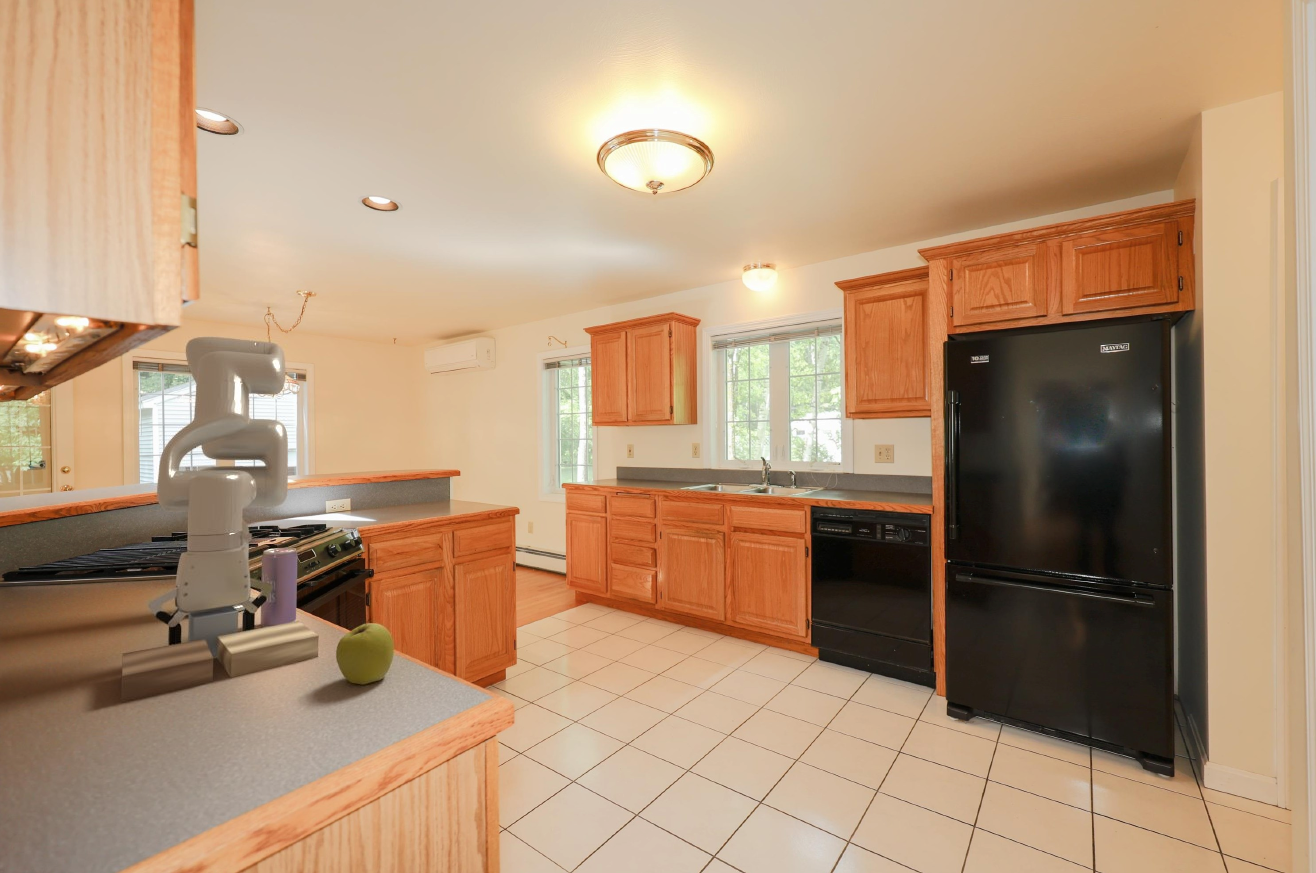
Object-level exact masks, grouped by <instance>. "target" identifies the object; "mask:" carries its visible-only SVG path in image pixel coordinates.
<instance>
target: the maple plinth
mask: <svg viewBox="0 0 1316 873" xmlns="http://www.w3.org/2000/svg"><path fill="white" fill-rule="evenodd" d="M319 638H320V637H319V635H318V634H317V633H315V632H314V631H313V630H311V629H310V628H309V627H308V626H306V625H304V624H303V623H302V622H301V621H299V620H297V621H296V620H295V621H294V622H291V623H286V624H280V625H275V626H270V627H259V628H254V629H253V630H249V631H243V632H242V631H240V632H238V633H233V634H227V635H222V636H217V656H216V658H217V660H218V661H219V662H220V664H221V665H222V667H223V668H224V670H225V671H226V673H227V674H228V675H229V677H230V678H234V677H239V676H243V675H248V674H252V673H255V672H260V671H263V670H268V669H269V670H270V669H272V668H276V667H282V666H286V665H289V664H294V663H299V662H303V661H307V660H311V659H315V658H316V659H317V658H319V640H320V639H319Z"/></svg>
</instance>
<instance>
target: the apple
mask: <svg viewBox="0 0 1316 873" xmlns="http://www.w3.org/2000/svg"><path fill="white" fill-rule="evenodd" d="M371 619H372V618H371V617H370V618H369V619H368V620H367V621H366V623H363V624H361V625H359V626H357V627H355V628H353V629H352V630H350V631H349V632H347V633H346V634H344V636H343V637H342V638H341V639H340V640H339V642H338V643H337V646H336V650H335V652H336V653H335V656H336V657H335V658H336V663H337V666H338V668H339V670H340V672H341V674H342V676H343V677H344V678H345V679H346V680H347V681H348V682H350V683H352V684H356V685H357V684H358V685H368V684H370V683H373V682H377V681H381V680H382V679H384V678H385V677H386V675H387V673H388V672H389V671H390V668H391V665H392V663H393V658H394V653H395V651H394V650H395V648H394V647H395V645H394V643H395V642H394V640H393V637H392V635H391V632H390V631H389V630H388V629H387V627H385V626H384V625H382V624H380V623H375V622H373V623H370V621H371ZM368 622H369V623H368Z"/></svg>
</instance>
